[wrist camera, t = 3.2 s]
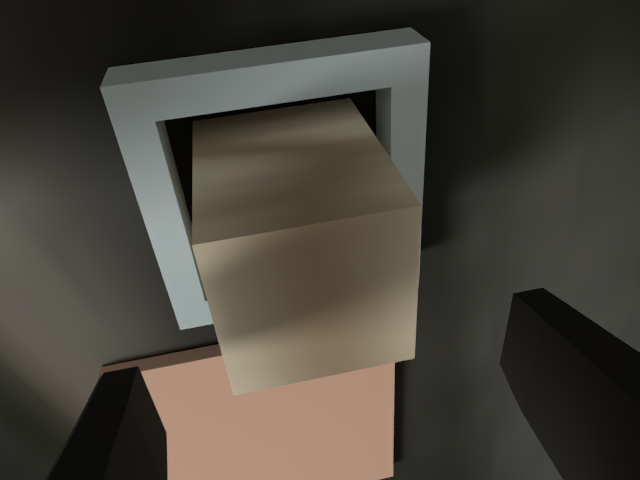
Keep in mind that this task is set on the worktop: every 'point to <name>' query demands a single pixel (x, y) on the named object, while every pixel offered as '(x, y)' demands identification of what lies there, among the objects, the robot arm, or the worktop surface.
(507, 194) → the worktop surface
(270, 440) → the mat
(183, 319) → the holder
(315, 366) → the birch block
